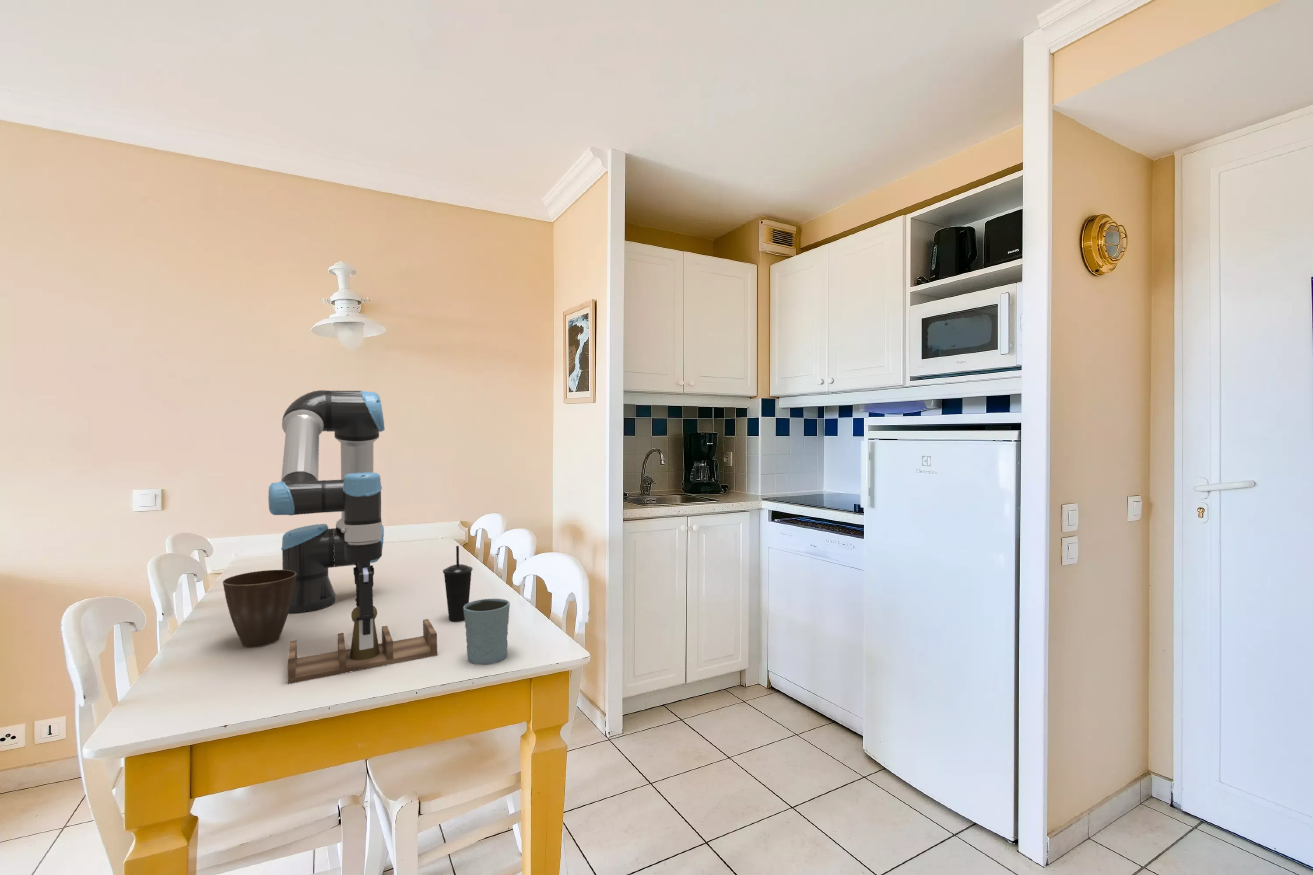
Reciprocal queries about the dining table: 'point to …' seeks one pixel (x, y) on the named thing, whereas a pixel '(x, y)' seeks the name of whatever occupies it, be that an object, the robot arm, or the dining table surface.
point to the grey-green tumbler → (486, 630)
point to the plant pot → (259, 604)
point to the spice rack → (342, 663)
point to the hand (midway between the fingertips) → (364, 641)
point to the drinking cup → (457, 588)
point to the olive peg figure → (355, 651)
